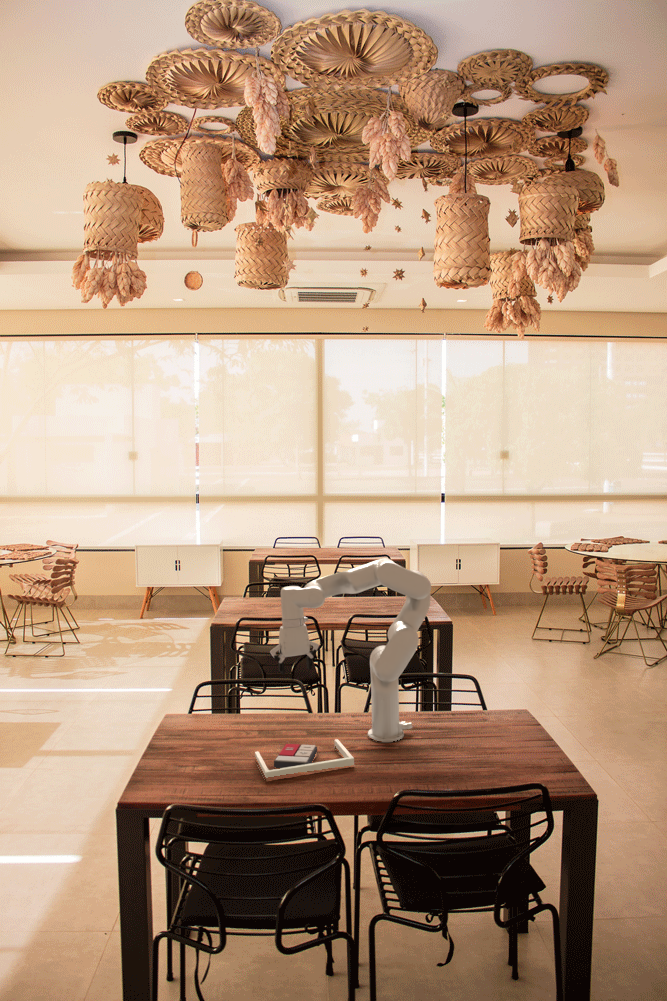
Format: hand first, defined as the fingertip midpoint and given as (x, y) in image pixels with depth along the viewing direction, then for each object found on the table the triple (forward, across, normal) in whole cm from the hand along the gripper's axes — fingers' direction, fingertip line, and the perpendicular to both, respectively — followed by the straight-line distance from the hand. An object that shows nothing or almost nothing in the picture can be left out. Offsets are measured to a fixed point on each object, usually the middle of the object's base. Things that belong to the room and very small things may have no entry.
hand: (295, 671), depth 245 cm
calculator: (+25, +6, +17) cm, 31 cm away
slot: (+24, +4, +18) cm, 31 cm away
